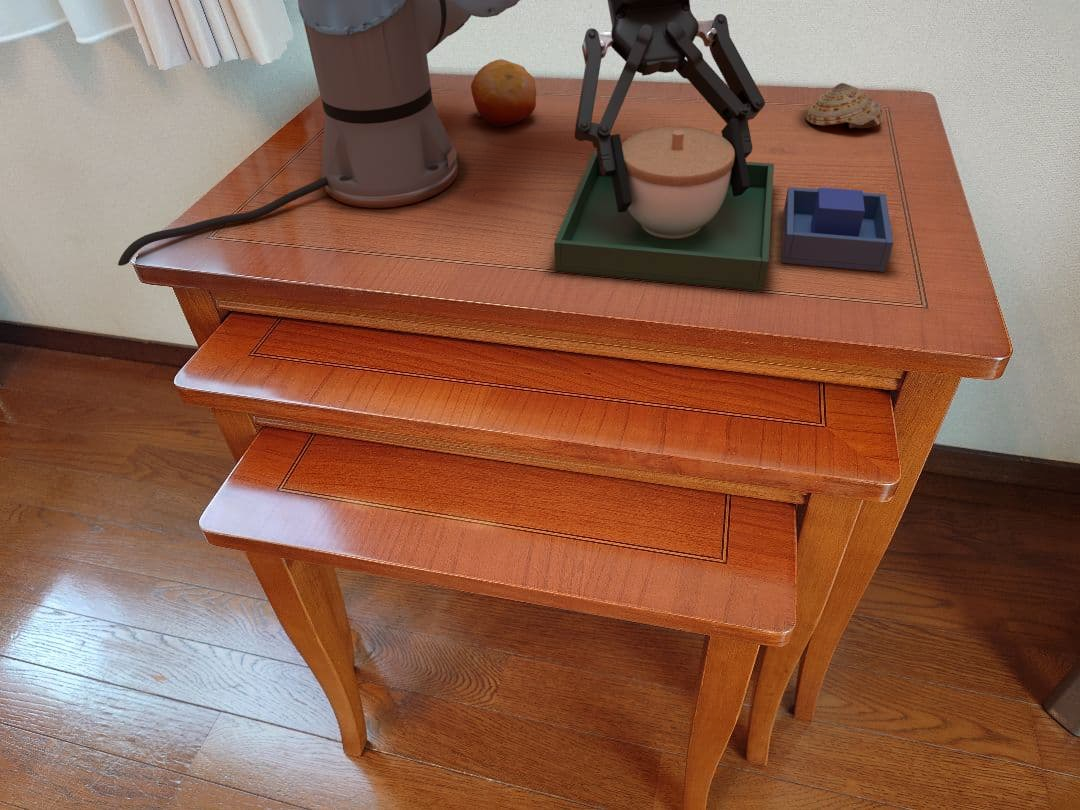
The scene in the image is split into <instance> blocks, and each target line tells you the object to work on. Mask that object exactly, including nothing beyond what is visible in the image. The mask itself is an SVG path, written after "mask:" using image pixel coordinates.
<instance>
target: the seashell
mask: <svg viewBox="0 0 1080 810" xmlns="http://www.w3.org/2000/svg"><path fill="white" fill-rule="evenodd" d="M805 119H806V121H808V123H810V124H813V125H816V126H817V125H818V126H828V125H830V126H831V125H839V124H845V123H848V125H847V127H848V128H849V129H853V128H854V129H855V128H857V129H865V128H872V127H877V126H879V125H880V124H881V123H882V122H883V119H884V112H883V110H882V107H881V106H880V104H879V103H878V102H877V101H875V100H874V99H872V98H871V97H869V95H867V93H865V92H863V91H862V89H860V88H858V87H856V86H852V84H851V85H850V84H847V83H844V82H840V83H838V84H836V85H835V86H833V87H831V88H830V89H828V90H827V91H826V92H824V93H823V94H822V95H820V96H819V97H818V98H817V100H816V101H815V102H813V104H811V106H810V107H809V108H808V110H807V113H806V116H805Z"/></svg>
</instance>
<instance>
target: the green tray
mask: <svg viewBox="0 0 1080 810" xmlns="http://www.w3.org/2000/svg"><path fill="white" fill-rule="evenodd" d="M746 164H747V169H748V175H749V180H750V185H751V186H750V187H749V188H748V189H747V190H746V191H745V192H744V193H743V194H742V195H740V196H733V192H732V187H731V181H730V183H729V187H728V190H727V194H726V197H725V199H724V202H723V204H722V206H721V207H720V209H719V211H718V212H717V214H716V215H715V216H714V217H713V218H712V219H711V220H710V221H709V222H708V223H707V224H705V225H704V226H702V227H701V229H700V230H699V231H698V232H697V233H695V234H693V235H691V236H688V237H684V238H677V239H668V238H661V237H657V236H654V235H651V234H649V233H648V232H646V231H645V230H644V229H643V228H642V226H641V224H640V223H638V222H637V221H636V220H635V219H634V217H633V216H632V215H631V214H630V212H629V211H628V209H627V211H625V212H618V208H617V202H616V197H615V191H614V185H613V180H612V176H606V177H603V175H602V173H601V171H600V165H599V159H598V154H597V151H593V152H592V153H591V156H590V158H589V160H588V163H587V165H586V167H585V170H584V172H583V174H582V176H581V179H580V181H579V183H578V186H577V188H576V191H575V192H574V196H573V198H572V200H571V203H570V205H569V207H568V209H567V211H566V214H565V217H564V219H563V221H562V224H561V226H560V228H559V230H558V233H557V236H556V238H555V240H554V242H553V243H554V244H553V246H554V271H555V272H564V273H572V274H574V273H575V274H584V275H593V276H595V275H596V276H605V277H616V278H624V279H625V278H627V279H635V280H648V281H656V282H657V281H658V282H667V283H676V284H688V285H698V286H708V287H709V286H710V287H719V288H731V289H739V290H740V289H741V290H752V291H761V292H763V291H764V290H765V285H766V279H767V274H768V267H769V262H770V261H769V260H770V244H771V228H772V227H771V225H772V223H771V222H772V211H773V210H772V207H773V190H774V189H773V188H774V172H775V171H774V170H775V163H770V162H755V161H754V162H753V161H746Z"/></svg>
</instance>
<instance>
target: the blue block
mask: <svg viewBox="0 0 1080 810" xmlns="http://www.w3.org/2000/svg"><path fill="white" fill-rule="evenodd" d="M817 189H818V193H817V198H816V202H815V207H814V212H813V217H812V221H811V233H818V234H830V235H843V236H855V237H858V236H859V232H860V228H861V225H862V221H863V217H864V213H865V208H864V199H863V193H864V191H863V190H859V189H846V188H845V189H844V188H832V187H831V188H830V187H818V188H817Z"/></svg>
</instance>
